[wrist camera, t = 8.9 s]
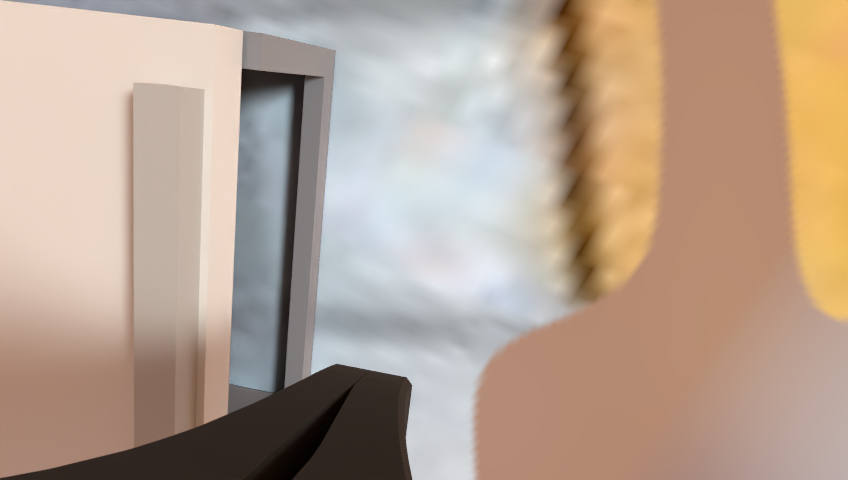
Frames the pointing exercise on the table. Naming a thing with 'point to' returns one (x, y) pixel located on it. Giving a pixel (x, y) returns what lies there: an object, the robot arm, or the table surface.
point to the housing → (298, 192)
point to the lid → (113, 230)
